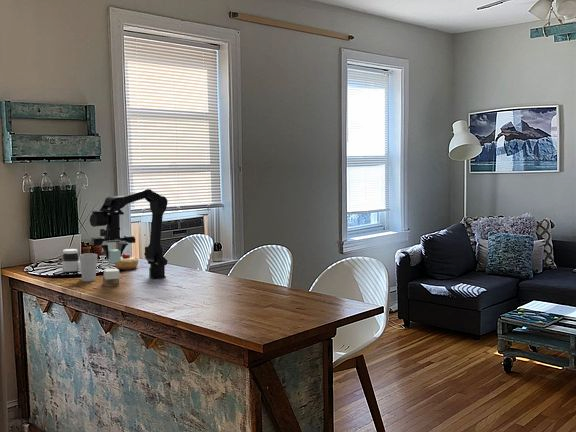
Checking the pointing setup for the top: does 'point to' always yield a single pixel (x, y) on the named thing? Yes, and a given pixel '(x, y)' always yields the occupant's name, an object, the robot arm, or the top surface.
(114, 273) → the cream slab
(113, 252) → the painted cube
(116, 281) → the walnut slab
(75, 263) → the spread jar
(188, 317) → the top surface
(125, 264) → the pastry
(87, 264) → the cup
